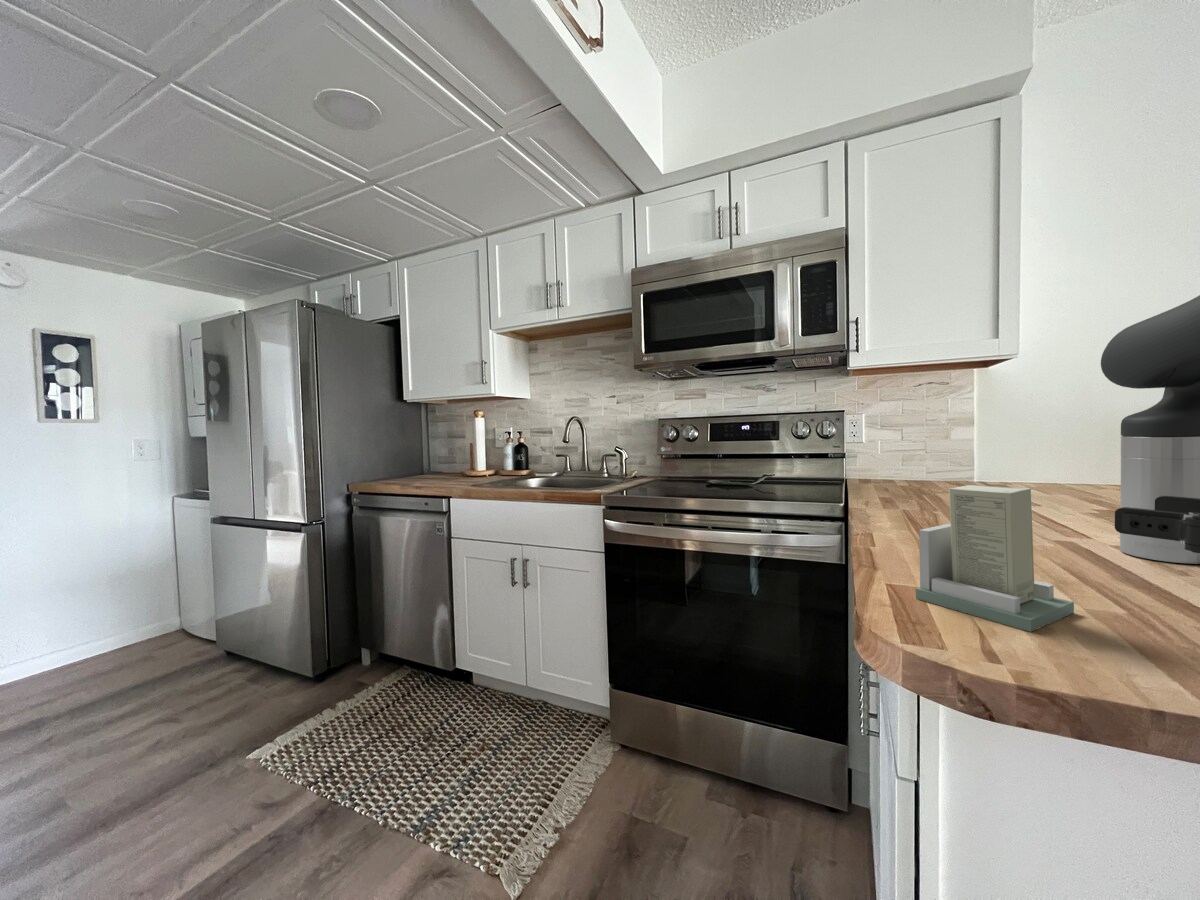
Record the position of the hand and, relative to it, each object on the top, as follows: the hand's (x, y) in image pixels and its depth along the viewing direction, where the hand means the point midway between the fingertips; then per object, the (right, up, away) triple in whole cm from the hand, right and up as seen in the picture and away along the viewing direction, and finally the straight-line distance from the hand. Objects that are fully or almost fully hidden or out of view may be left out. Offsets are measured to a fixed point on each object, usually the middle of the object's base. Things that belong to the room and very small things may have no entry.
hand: (1136, 512), depth 44 cm
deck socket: (-5, -12, +11) cm, 16 cm away
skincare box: (-5, -11, +10) cm, 16 cm away
